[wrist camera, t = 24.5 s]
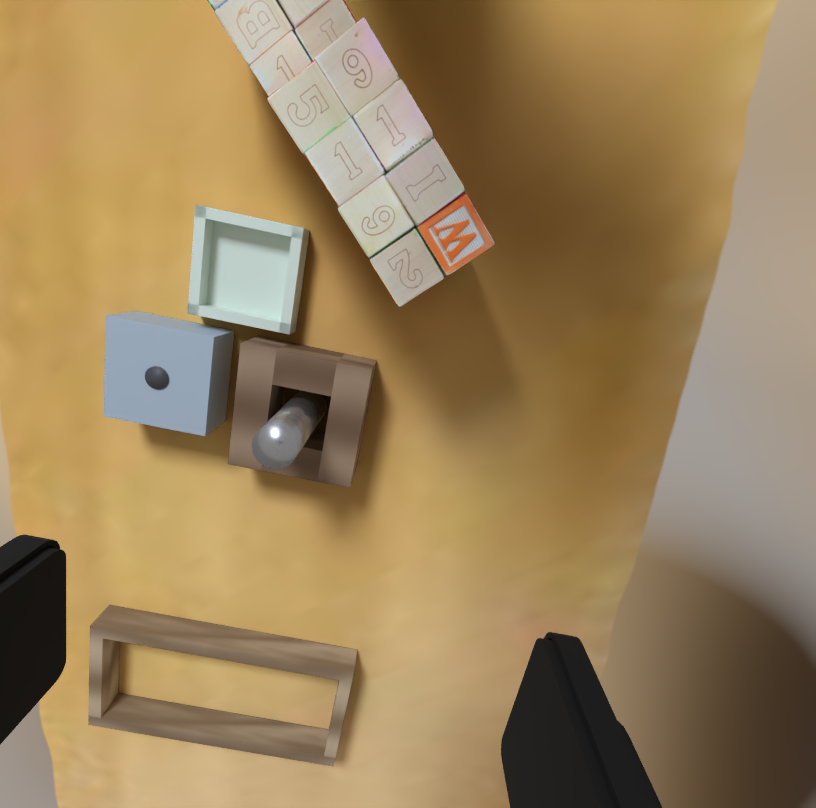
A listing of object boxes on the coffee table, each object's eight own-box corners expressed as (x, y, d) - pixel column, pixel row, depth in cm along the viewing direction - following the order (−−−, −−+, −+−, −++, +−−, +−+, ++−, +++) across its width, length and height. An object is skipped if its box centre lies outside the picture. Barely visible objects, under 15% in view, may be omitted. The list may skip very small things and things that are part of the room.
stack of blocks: (240, 39, 32) (138, -100, 20) (312, -20, 31) (247, -202, 19) (404, 299, 37) (398, 310, 25) (470, 255, 36) (497, 245, 24)
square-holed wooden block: (258, 335, 38) (240, 342, 34) (376, 360, 38) (372, 369, 34) (245, 446, 40) (227, 464, 36) (356, 467, 41) (349, 487, 37)
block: (137, 311, 37) (104, 315, 33) (234, 331, 38) (213, 337, 34) (134, 402, 39) (102, 416, 35) (225, 420, 40) (204, 436, 36)
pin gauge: (294, 385, 39) (254, 422, 29) (328, 392, 39) (300, 431, 29) (289, 418, 40) (249, 464, 30) (323, 425, 40) (293, 472, 30)
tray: (207, 208, 35) (195, 204, 33) (309, 230, 35) (303, 228, 33) (199, 311, 37) (187, 313, 35) (295, 331, 37) (289, 334, 36)
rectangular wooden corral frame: (109, 604, 45) (90, 625, 42) (357, 649, 46) (353, 672, 44) (106, 699, 49) (88, 724, 46) (338, 739, 50) (333, 766, 47)
